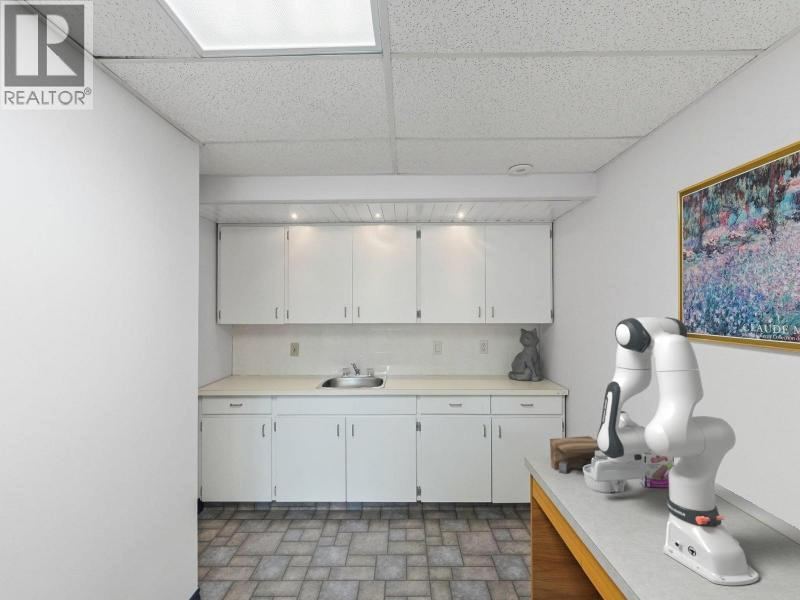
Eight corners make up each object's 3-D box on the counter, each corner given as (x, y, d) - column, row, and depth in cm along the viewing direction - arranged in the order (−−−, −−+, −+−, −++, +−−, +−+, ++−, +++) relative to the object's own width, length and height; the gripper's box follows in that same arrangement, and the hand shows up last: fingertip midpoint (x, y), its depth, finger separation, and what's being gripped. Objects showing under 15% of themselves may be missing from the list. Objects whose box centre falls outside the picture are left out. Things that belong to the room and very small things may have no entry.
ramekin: (576, 482, 168) (575, 465, 168) (603, 478, 171) (602, 461, 171) (599, 497, 155) (598, 478, 155) (628, 492, 158) (627, 474, 158)
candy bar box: (645, 488, 161) (644, 446, 161) (639, 482, 166) (638, 442, 166) (675, 488, 160) (674, 446, 160) (668, 483, 165) (667, 442, 165)
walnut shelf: (609, 475, 173) (608, 446, 173) (567, 479, 171) (566, 449, 171) (590, 463, 187) (589, 436, 187) (550, 466, 185) (550, 438, 185)
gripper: (596, 459, 148) (597, 497, 148) (648, 455, 151) (649, 492, 151) (586, 452, 155) (587, 489, 154) (636, 449, 157) (637, 485, 157)
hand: (618, 491), depth 153 cm, fingers closed
